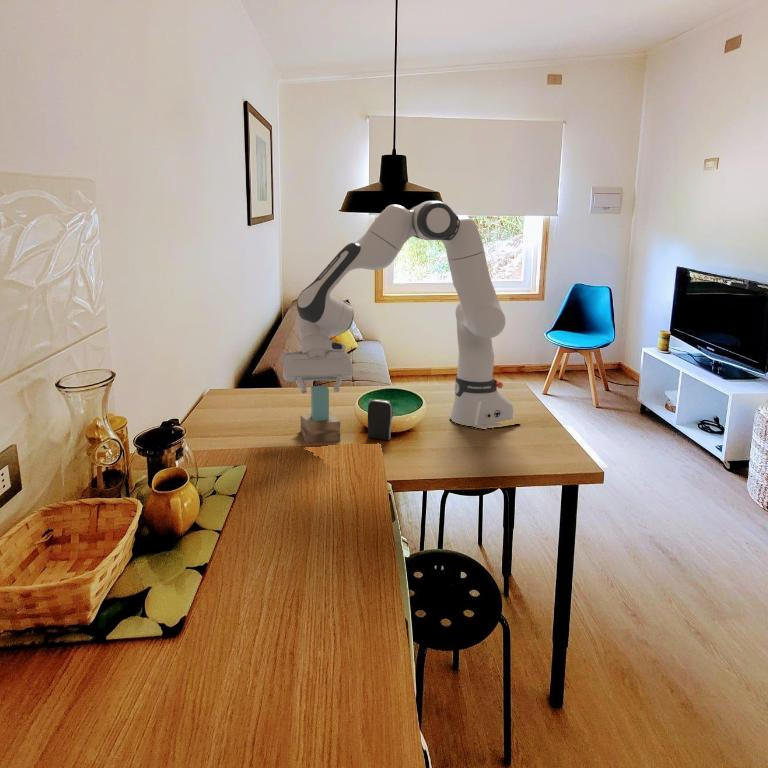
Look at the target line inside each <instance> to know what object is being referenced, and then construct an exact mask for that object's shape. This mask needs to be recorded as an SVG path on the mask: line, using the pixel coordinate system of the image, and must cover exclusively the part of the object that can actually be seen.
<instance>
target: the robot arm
mask: <svg viewBox="0 0 768 768" xmlns="http://www.w3.org/2000/svg"><path fill="white" fill-rule="evenodd" d="M411 238H417V239H420V240H424V241H430V242H431V241H441V243H442V244H443V246H444V248H445V252H446V257H447V262H448V267H449V271H450V274H451V279H452V283H453V284H452V285H453V286H454V288H455V291H456V293H457V296H458V298H459V302H458V304H457V306H456V308H455V318H456V333H457V335H456V336H457V344H458V345H457V347H458V357H457V359H458V360H457V371H456V372H457V373H456V374H457V375H456V376H455V382H454V394H455V396H454V401H453V404H452V409H451V412H450V414H449V417H450V418H451V419H452V420H453V421H454V422H457V423H460V424H464V425H468V426H474V427H477V428H488V427H492V426H498V425H502V424H500V423H497V422H501V421H505V420H511V419H514V415H515V413H514V407H513V404H512V402H511V400H509V399H508V398H507V397H506V396H505V395H503V394H502V393H501V392H500V391H499V390H498V389H502V388H504V383H503V382H502V381H500V380H496V379H495V378H493V375H494V364H495V353H494V348H493V341H492V339H494V338H496V337H498V336H499V335H500V334H501V333H502V332H503V331H504V329H505V326H506V316H505V313H504V311H503V310H502V308H501V304H500V302H499V299H498V295H497V292H496V290H495V287H494V285H493V282H492V279H491V277H490V276H491V275H490V271H489V267H488V262H487V258H486V252H485V248H484V244H483V241H482V237H481V234H480V231H479V228H478V226H477V223H476V222H475V220H474V219H473V218H471V217H468V216H458V215H457V214H456V213H455V212H454V210H453V209H452V208H451V207H450V206H449V205H448V204H446V203H445V202H443V201H440V200H426V201H424V202H421V203H419V204H416V205H414V206H412V207H411V208H409V209H407V208H406V207H405V206H402V205H400V204H390V205H388V206H386V207H385V209H383V210H382V211H381V212H380V213H379V215H378V216H376V218H375V219H374V220H373V222H372V224H370V226H369V227H368V230H367V231H366V232H365V233H364V234H363V236H362V237H361V238H359V239H358V240H357V241H355V242H350V243H347V244H346V245H345V246H343V248H342V249H341V250H340V251H339V252H338V253H337V254H336V255H335V257H334V258H332V260H331V261H330V262H329V263H328V264H327V266H326V267H325V268H324V269H323V270H322V271H321V272H320V273H319V275H318V276H317V277H316V278H315V279H314V280H313V282H311V283H310V284H309V285H308V286H307V287H306V288H304V289H303V290H302V291H301V292H300V293H299V295H298V297H297V299H296V310H297V313H298V316H297V326H298V333H299V337H300V341H299V347H300V350H299V351H297V350H296V351H285V352H284V353H282V354H281V356H280V362H281V365H283V372H282V374H283V375H282V377H283V378H282V379H284V381H285V382H296V385H297V387H298V388H299V389H300V394H307V390H308V389H307V385H304V384H303V383H302V382H309V381H310V382H311V381H313V382H316V381H318V382H319V381H336V384H333V388H332V389H333V393H340V390H341V389H340V385H341V383H342V380H343V381H345V380H346V381H347V380H351V378H352V377H353V374H354V368H353V364H352V363H353V362H352V360H351V357H350V355H349V354H348V353H347V347H346V345H345V344H344V343H340V342H337V341H333V340H330V338H334V337H338V336H339V335H341V334H344V333H346V332H347V331H348V330H350V328H351V326H352V325H353V322H354V316H355V315H354V310H353V308H352V307H351V306H350V305H349V304H347V303H346V302H345V301H342V300H340V299H338V298H337V297H335V296H334V295H332V294H331V293H332V292H333V290H334V289H335V287H337V285H338V284H339V283H340V282H341V281H342V279H343V278H344V277H346V275H347V274H348V273H349V272H351V271H353V270H357V269H359V270H360V269H364V270H370V271H377V270H383V269H385V268H387V267H389V266H390V265H391V264H392V263H393V262H394V261H395V259H396V257H397V256H398V254H399V253H400V252H401V250H402V248H403V247H404V245H405V244H406V242H407V241H408V240H409V239H411ZM497 388H498V389H497ZM477 428H476V429H477Z"/></svg>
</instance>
